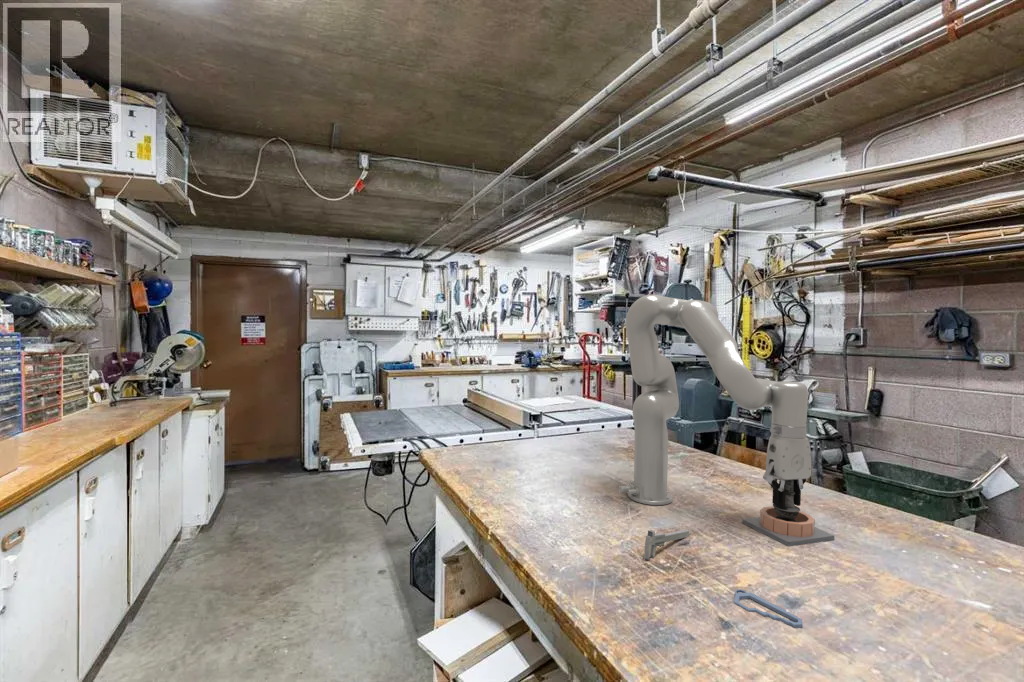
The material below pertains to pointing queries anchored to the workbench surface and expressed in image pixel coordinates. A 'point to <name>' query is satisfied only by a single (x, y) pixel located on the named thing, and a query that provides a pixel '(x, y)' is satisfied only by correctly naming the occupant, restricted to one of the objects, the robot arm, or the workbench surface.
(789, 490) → the dark flared piece
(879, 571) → the workbench surface
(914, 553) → the workbench surface
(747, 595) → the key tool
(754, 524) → the shaker holder
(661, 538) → the caliper
